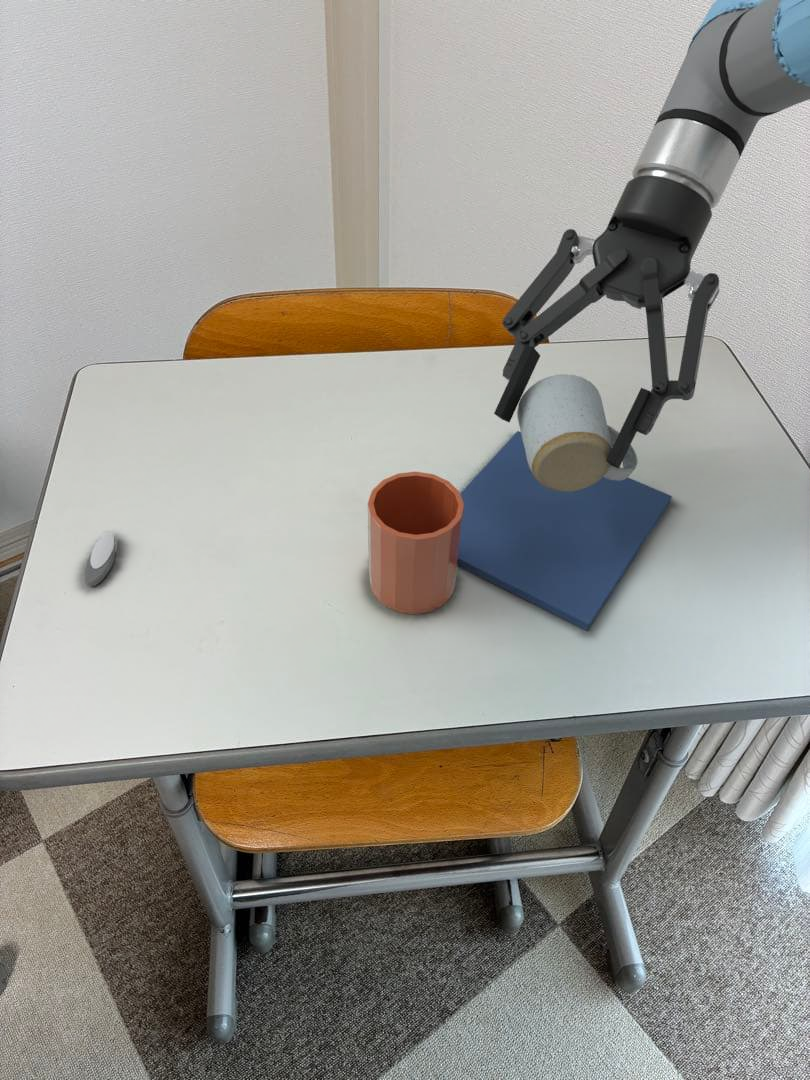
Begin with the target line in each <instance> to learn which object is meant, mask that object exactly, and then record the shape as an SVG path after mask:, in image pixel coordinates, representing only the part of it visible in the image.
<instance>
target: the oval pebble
mask: <svg viewBox="0 0 810 1080" xmlns="http://www.w3.org/2000/svg"><path fill="white" fill-rule="evenodd" d="M117 541H118V540H117V538H116V536H115V533H114V532H113V531H112V530H107V531H105V532H103V533H102V535H101V536H99V539H98V540H97V541H96V543H95V544H94V546H93V548H92V551H91V553H90V554H89V556H88V558H87V560H86V564H85V569H84V579H85V582H86V585H88V586H90V587H95V586H98V584H100V583H101V582H102V581H103V580H104V579H105V577H106V576H107V575H108V573H109V572H110V570H111V569H112V567H113V565H114V562H115V558H116V554H117V547H118V542H117Z"/></svg>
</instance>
